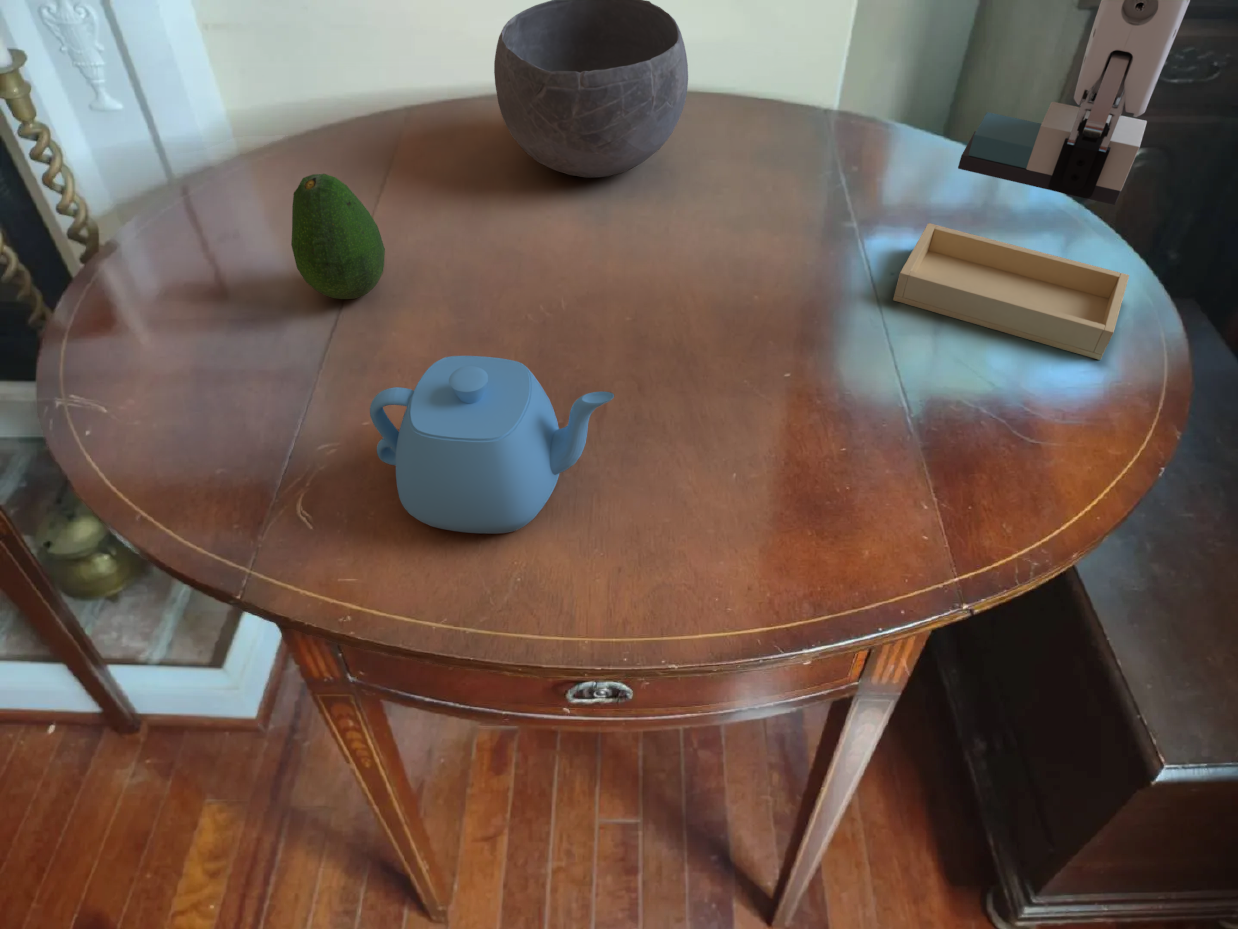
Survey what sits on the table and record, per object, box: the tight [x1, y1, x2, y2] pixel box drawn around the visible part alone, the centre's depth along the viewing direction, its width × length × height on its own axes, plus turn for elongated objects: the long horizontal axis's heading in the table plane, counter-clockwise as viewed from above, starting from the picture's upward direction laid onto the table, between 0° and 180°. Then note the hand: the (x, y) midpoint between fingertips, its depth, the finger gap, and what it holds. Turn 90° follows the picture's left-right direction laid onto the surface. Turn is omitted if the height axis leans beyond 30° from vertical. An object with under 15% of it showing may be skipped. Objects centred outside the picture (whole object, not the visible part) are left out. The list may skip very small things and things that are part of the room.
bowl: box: [493, 0, 689, 178], centre depth 102 cm, size 20×20×15 cm
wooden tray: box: [892, 222, 1130, 361], centre depth 87 cm, size 19×10×3 cm, turn 62°
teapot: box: [369, 355, 615, 535], centre depth 69 cm, size 13×11×18 cm
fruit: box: [290, 173, 386, 300], centre depth 85 cm, size 8×8×12 cm
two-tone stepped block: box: [957, 101, 1148, 206], centre depth 74 cm, size 12×5×5 cm, turn 62°
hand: (1075, 174), depth 74 cm, fingers closed on two-tone stepped block, 4 cm apart
